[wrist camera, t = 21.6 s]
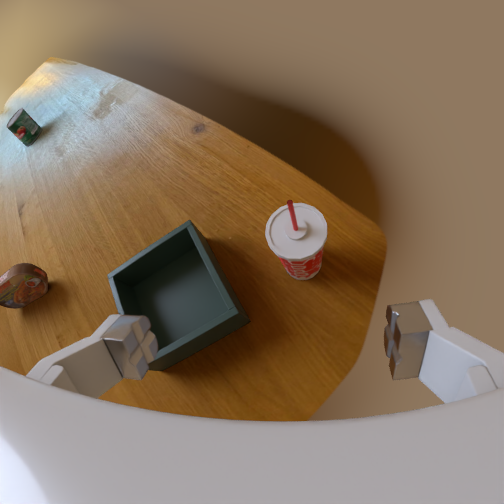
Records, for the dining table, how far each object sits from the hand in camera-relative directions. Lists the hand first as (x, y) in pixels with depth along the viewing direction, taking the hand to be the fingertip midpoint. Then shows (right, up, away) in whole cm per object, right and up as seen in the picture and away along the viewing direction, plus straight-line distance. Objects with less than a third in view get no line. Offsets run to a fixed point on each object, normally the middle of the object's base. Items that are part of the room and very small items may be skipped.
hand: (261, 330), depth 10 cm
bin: (-9, -4, +29) cm, 31 cm away
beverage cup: (+6, +1, +28) cm, 29 cm away
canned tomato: (-72, +40, +65) cm, 105 cm away
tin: (-43, -6, +37) cm, 57 cm away
